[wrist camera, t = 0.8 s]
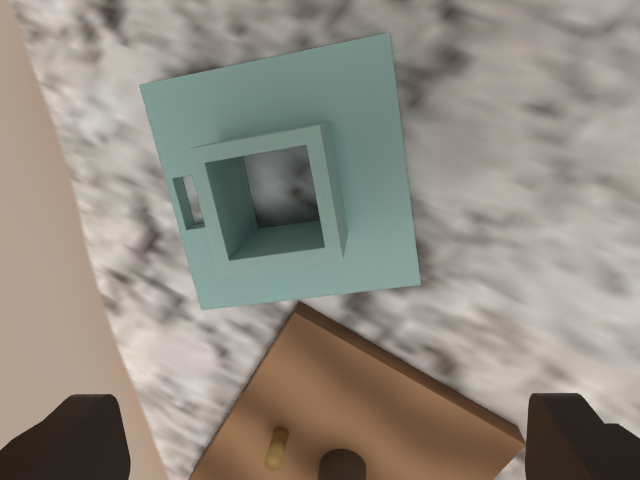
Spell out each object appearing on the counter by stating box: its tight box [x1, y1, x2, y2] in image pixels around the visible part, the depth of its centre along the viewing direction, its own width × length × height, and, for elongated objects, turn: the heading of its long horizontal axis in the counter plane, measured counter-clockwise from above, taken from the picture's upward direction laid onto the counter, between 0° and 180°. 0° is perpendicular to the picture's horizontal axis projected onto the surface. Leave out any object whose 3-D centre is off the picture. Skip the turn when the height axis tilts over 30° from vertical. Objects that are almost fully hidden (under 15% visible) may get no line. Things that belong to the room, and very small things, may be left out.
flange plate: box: [139, 32, 421, 310], centre depth 22 cm, size 13×13×6 cm
